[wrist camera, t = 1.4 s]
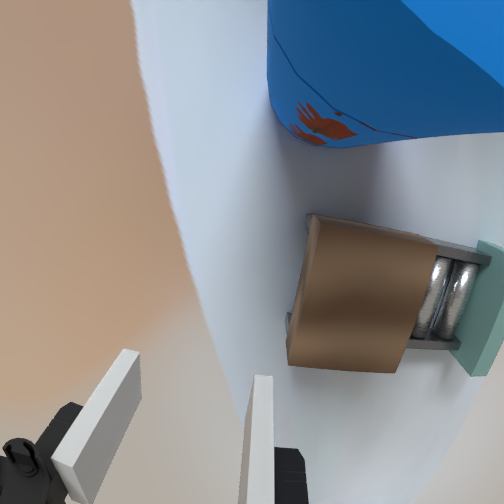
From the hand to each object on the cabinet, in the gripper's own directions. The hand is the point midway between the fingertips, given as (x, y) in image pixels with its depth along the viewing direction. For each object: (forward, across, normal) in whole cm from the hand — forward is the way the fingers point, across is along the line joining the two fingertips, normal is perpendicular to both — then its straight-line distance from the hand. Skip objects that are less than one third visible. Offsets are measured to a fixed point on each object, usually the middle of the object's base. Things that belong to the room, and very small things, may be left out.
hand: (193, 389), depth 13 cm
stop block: (+19, +27, 0) cm, 33 cm away
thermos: (+19, +6, +17) cm, 26 cm away
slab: (+16, +11, 0) cm, 19 cm away
